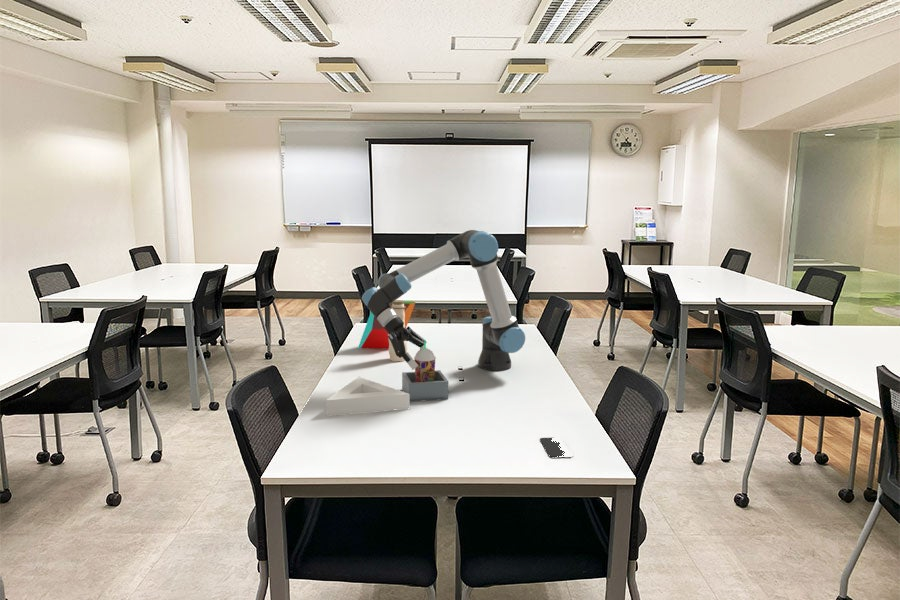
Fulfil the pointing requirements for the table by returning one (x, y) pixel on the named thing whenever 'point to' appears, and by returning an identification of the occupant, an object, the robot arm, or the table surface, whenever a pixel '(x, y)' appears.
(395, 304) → the water bottle
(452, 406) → the table surface
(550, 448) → the phone
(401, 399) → the triangle block
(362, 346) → the gem
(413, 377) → the tray
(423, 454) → the table surface
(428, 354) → the smoothie
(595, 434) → the table surface
